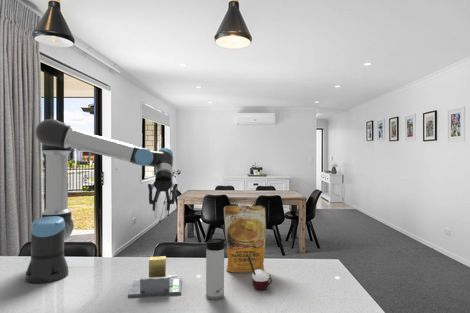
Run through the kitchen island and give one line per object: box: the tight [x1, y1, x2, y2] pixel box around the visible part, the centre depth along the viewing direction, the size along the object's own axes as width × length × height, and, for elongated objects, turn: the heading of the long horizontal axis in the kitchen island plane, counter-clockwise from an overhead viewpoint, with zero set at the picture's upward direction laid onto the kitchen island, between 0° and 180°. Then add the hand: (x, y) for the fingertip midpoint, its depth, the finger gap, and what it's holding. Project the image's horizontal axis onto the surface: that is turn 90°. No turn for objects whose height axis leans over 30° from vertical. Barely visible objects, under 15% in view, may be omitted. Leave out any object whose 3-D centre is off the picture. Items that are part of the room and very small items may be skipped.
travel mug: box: [205, 237, 226, 301], centre depth 112 cm, size 6×7×20 cm
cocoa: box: [248, 256, 273, 291], centre depth 119 cm, size 10×6×12 cm, turn 86°
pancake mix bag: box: [223, 204, 267, 274], centre depth 139 cm, size 7×19×28 cm, turn 95°
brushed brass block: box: [148, 255, 178, 279], centre depth 122 cm, size 10×4×9 cm, turn 98°
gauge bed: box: [127, 276, 183, 298], centre depth 118 cm, size 18×13×6 cm
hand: (160, 216), depth 133 cm, fingers open, 3 cm apart
